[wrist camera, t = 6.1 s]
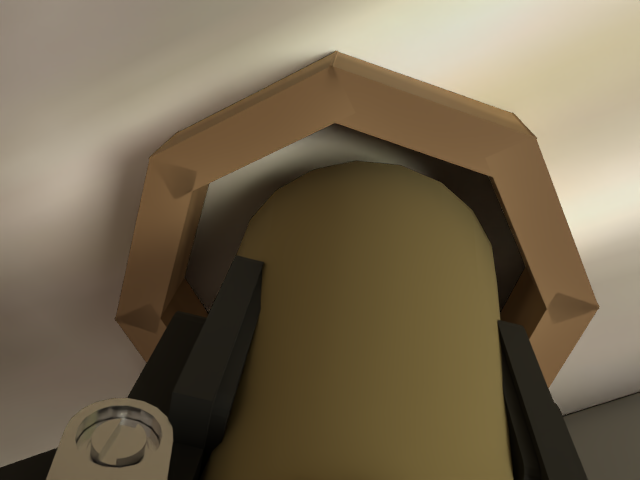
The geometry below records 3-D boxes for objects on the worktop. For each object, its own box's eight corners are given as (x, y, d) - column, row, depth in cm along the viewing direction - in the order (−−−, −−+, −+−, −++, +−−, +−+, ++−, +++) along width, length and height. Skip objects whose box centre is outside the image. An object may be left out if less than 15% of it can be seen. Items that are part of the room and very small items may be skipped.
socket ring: (77, 182, 15) (37, 213, 13) (465, -16, 12) (481, -12, 11) (272, 467, 18) (261, 522, 17) (606, 356, 16) (636, 407, 14)
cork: (502, 152, 12) (988, 924, 3) (492, 388, 15) (715, 1232, 5) (216, 168, 13) (-272, 826, 3) (252, 391, 16) (40, 1141, 6)
